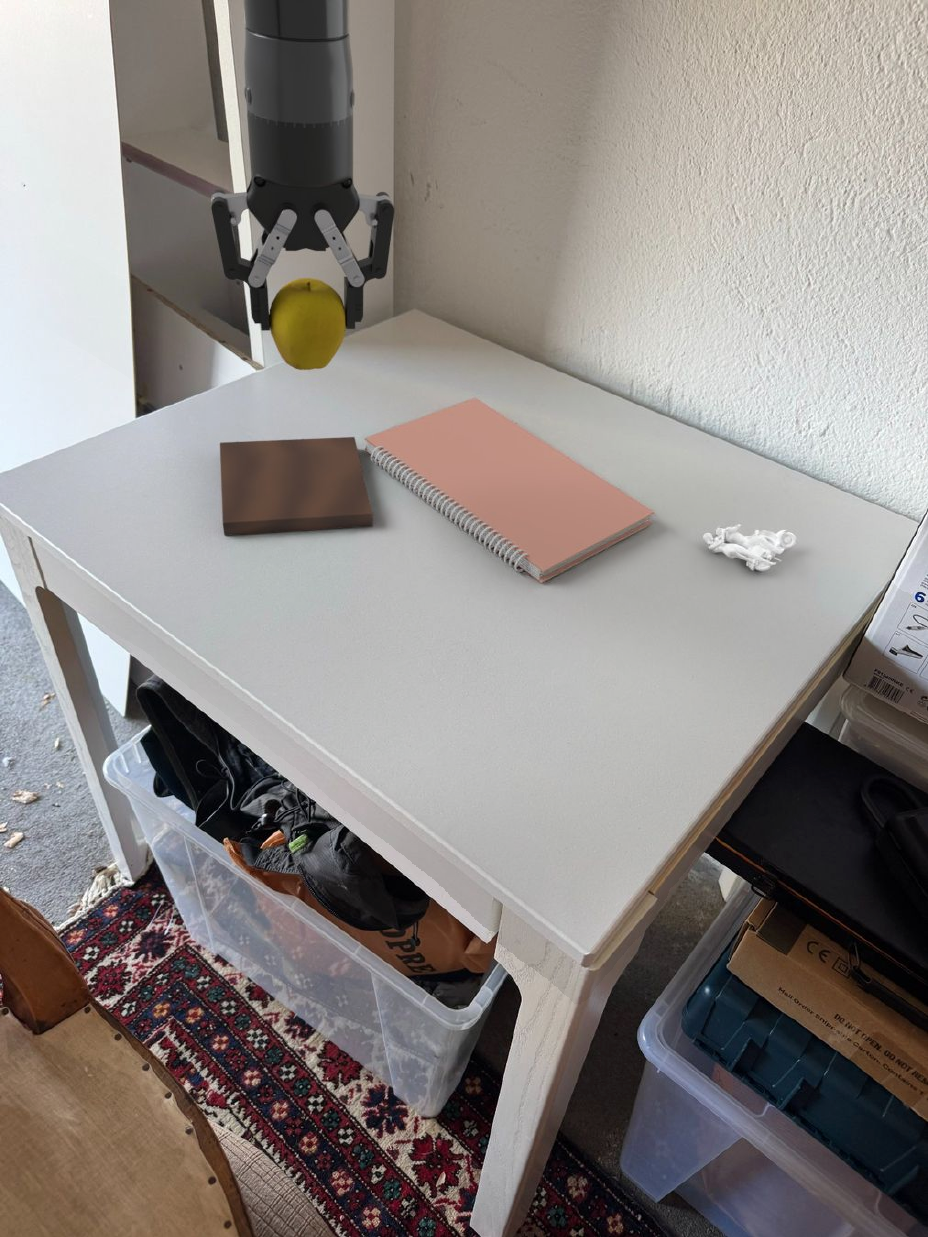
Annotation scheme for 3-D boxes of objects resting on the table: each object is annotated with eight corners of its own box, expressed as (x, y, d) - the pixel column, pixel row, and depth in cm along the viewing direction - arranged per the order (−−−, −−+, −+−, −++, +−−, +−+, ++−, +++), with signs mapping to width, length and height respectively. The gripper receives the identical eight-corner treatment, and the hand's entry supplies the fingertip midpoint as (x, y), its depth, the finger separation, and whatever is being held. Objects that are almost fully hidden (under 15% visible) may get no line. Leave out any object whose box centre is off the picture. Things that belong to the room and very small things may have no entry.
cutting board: (224, 535, 87) (222, 522, 86) (220, 454, 97) (219, 442, 96) (372, 526, 90) (372, 514, 89) (354, 448, 100) (354, 436, 99)
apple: (308, 392, 76) (305, 298, 71) (256, 364, 79) (249, 272, 74) (363, 367, 80) (363, 276, 75) (311, 342, 83) (308, 252, 77)
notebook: (356, 454, 99) (356, 438, 98) (473, 410, 108) (475, 395, 106) (533, 589, 85) (535, 572, 83) (651, 525, 94) (655, 509, 92)
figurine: (690, 553, 91) (733, 518, 96) (760, 590, 88) (801, 551, 92) (696, 528, 89) (740, 494, 94) (768, 565, 86) (809, 527, 90)
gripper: (392, 93, 70) (386, 305, 81) (195, 85, 67) (218, 307, 78) (408, 121, 65) (399, 345, 76) (195, 114, 62) (219, 348, 73)
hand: (307, 325), depth 77 cm, fingers closed on apple, 6 cm apart
